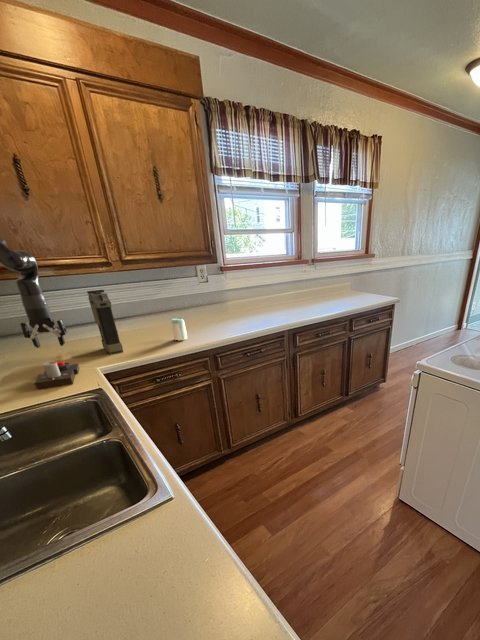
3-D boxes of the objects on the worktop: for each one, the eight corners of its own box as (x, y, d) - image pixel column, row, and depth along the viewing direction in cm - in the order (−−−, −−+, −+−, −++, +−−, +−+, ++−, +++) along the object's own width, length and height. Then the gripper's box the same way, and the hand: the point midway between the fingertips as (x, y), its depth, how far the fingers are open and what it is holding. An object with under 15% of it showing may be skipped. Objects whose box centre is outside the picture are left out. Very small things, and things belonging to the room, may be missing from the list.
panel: (37, 390, 127) (34, 382, 126) (41, 381, 135) (38, 374, 134) (73, 384, 132) (70, 377, 131) (75, 376, 140) (72, 369, 139)
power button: (54, 367, 139) (53, 363, 138) (55, 365, 142) (54, 361, 141) (64, 366, 141) (63, 362, 140) (65, 363, 143) (64, 360, 143)
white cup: (47, 378, 130) (41, 365, 127) (49, 375, 133) (43, 361, 131) (60, 376, 132) (55, 363, 129) (61, 373, 135) (56, 360, 132)
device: (101, 348, 174) (85, 290, 161) (117, 345, 179) (101, 288, 165) (109, 355, 165) (91, 293, 151) (125, 351, 169) (109, 291, 156)
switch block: (45, 379, 137) (41, 370, 135) (47, 372, 144) (44, 364, 142) (78, 374, 142) (75, 365, 140) (79, 368, 149) (76, 359, 147)
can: (172, 339, 189) (169, 318, 184) (184, 337, 193) (181, 316, 187) (176, 342, 184) (173, 321, 179) (189, 340, 188) (185, 319, 182)
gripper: (60, 303, 132) (72, 342, 139) (18, 305, 128) (34, 345, 136) (53, 307, 126) (67, 347, 133) (9, 309, 122) (26, 350, 129)
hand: (50, 346), depth 134 cm, fingers open, 8 cm apart
